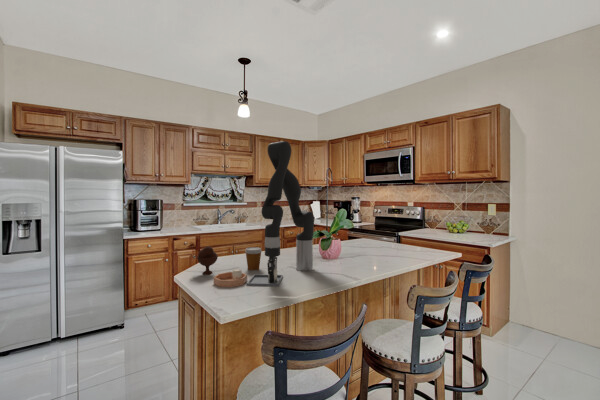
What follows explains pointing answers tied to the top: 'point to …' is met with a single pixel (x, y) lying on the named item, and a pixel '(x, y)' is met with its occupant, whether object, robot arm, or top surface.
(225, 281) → the terracotta bowl
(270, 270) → the pebble
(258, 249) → the disposable coffee cup
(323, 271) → the top surface
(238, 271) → the pebble
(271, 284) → the tray
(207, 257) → the ice cream bowl
